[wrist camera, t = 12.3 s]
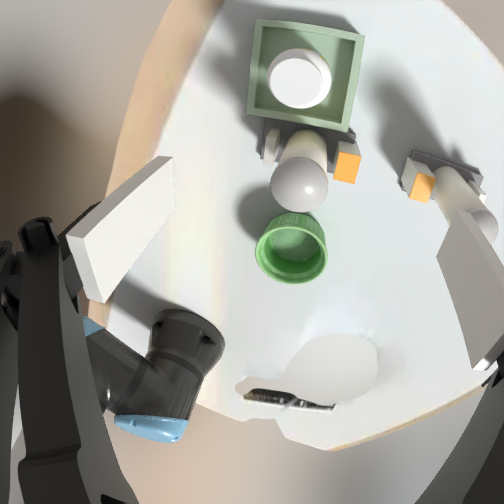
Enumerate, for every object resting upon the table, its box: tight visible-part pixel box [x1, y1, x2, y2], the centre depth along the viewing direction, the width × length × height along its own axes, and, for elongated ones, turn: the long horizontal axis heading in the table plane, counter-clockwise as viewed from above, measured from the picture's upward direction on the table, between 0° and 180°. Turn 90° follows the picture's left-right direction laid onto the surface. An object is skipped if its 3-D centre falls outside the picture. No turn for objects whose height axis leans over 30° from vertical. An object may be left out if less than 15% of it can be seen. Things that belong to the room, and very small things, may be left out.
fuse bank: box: [260, 117, 498, 245], centre depth 28 cm, size 27×5×12 cm, turn 86°
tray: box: [246, 18, 365, 133], centre depth 27 cm, size 11×11×2 cm
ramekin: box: [255, 213, 328, 284], centre depth 40 cm, size 9×9×4 cm
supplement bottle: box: [267, 48, 331, 108], centre depth 24 cm, size 5×5×10 cm
